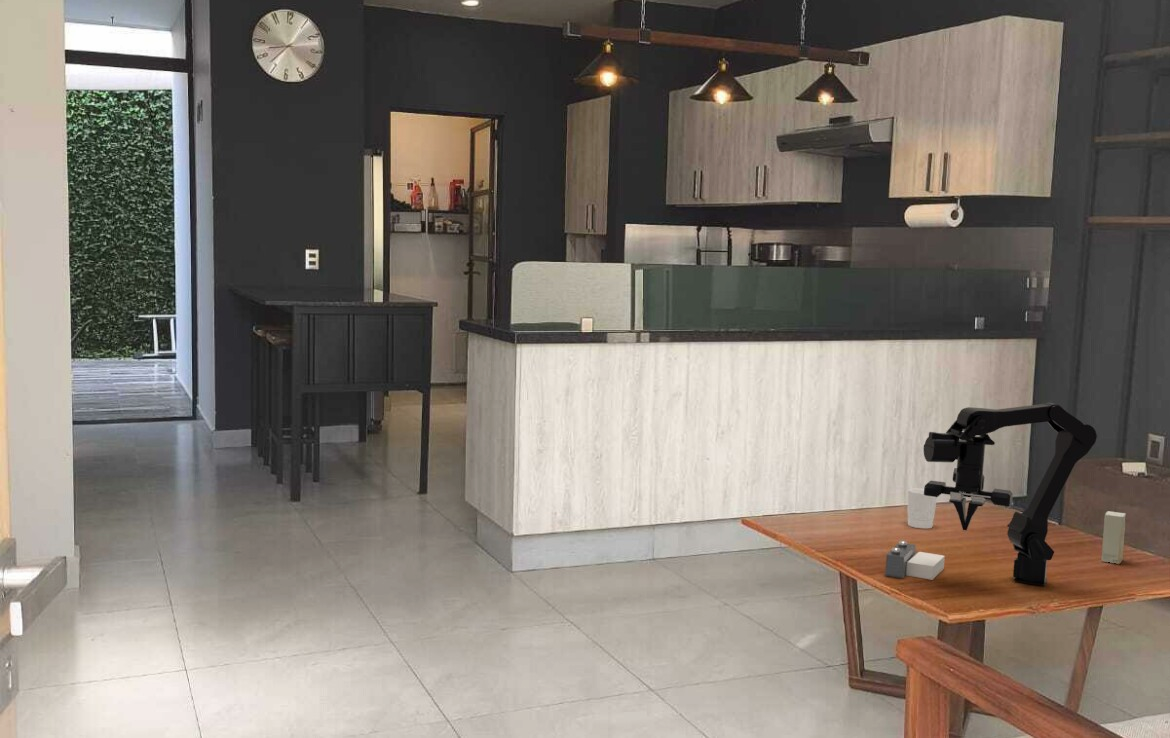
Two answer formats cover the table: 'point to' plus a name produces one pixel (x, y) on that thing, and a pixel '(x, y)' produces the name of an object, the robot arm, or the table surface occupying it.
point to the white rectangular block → (925, 565)
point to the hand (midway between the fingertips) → (965, 529)
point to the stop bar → (899, 559)
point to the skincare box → (1113, 537)
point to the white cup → (920, 509)
